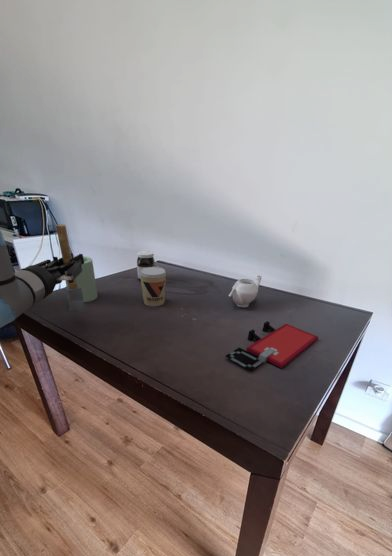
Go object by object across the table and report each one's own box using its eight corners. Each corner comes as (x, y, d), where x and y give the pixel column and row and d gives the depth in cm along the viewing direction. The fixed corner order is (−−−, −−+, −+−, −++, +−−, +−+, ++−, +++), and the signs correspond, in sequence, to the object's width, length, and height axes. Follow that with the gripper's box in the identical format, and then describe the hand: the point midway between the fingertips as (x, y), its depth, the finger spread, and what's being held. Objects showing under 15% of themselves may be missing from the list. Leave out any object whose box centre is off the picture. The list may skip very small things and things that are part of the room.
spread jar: (139, 275, 132) (137, 249, 125) (163, 276, 132) (163, 250, 126) (136, 284, 122) (134, 256, 115) (162, 285, 122) (162, 257, 116)
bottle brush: (66, 311, 86) (47, 225, 73) (74, 305, 89) (57, 223, 76) (80, 312, 85) (63, 227, 72) (87, 307, 89) (72, 224, 76)
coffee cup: (143, 308, 102) (141, 275, 95) (140, 298, 109) (138, 267, 103) (168, 306, 104) (168, 274, 98) (164, 296, 112) (163, 266, 105)
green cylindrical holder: (63, 300, 104) (55, 262, 97) (78, 290, 113) (71, 255, 105) (89, 303, 103) (82, 265, 95) (102, 293, 111) (97, 257, 104)
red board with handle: (219, 355, 77) (266, 382, 69) (220, 347, 76) (268, 373, 68) (275, 323, 96) (317, 340, 88) (276, 315, 95) (319, 332, 87)
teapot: (216, 308, 104) (218, 284, 99) (246, 294, 117) (250, 272, 112) (238, 316, 99) (241, 291, 94) (267, 301, 112) (271, 278, 107)
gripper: (3, 298, 67) (54, 268, 87) (66, 303, 66) (104, 272, 86) (-8, 266, 63) (49, 243, 83) (59, 272, 62) (100, 247, 82)
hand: (77, 258), depth 84 cm, fingers closed on bottle brush, 2 cm apart
